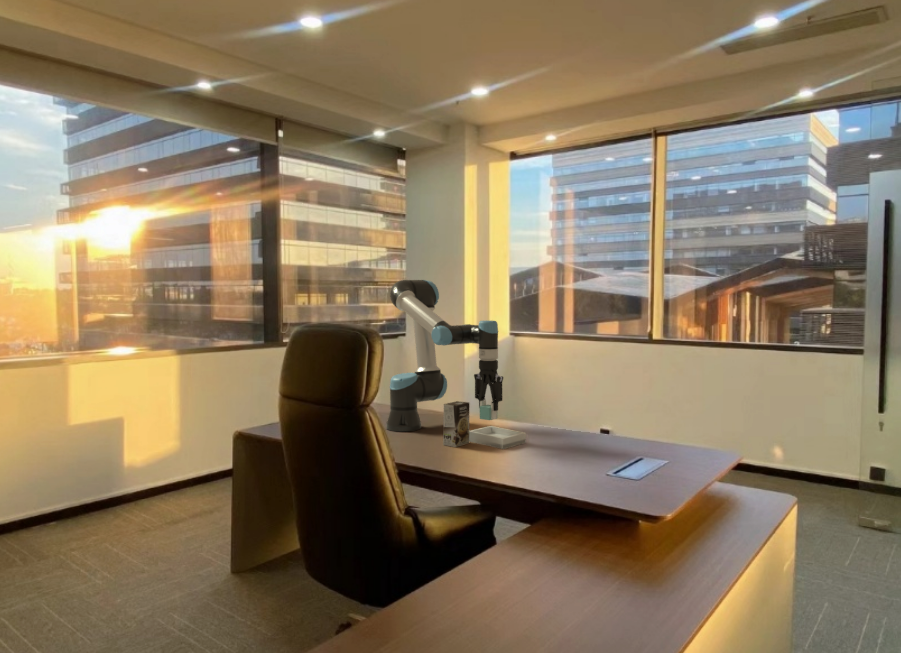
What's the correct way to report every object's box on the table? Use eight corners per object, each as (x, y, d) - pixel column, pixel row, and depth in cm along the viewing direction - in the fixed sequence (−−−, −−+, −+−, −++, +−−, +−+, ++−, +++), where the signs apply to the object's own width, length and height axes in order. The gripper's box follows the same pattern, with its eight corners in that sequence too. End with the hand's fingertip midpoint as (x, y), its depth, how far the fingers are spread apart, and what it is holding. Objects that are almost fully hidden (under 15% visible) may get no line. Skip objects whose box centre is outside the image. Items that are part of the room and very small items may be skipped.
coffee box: (456, 447, 238) (456, 405, 237) (442, 445, 242) (442, 403, 241) (470, 443, 245) (470, 402, 244) (456, 440, 249) (456, 400, 248)
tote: (467, 441, 248) (467, 431, 248) (490, 435, 258) (491, 425, 258) (503, 449, 235) (503, 438, 235) (525, 442, 245) (525, 432, 245)
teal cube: (479, 418, 249) (479, 406, 249) (487, 416, 253) (487, 404, 252) (489, 420, 246) (489, 407, 245) (497, 418, 249) (497, 406, 249)
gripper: (465, 358, 252) (465, 416, 253) (499, 361, 239) (499, 422, 240) (477, 357, 257) (477, 413, 258) (512, 360, 244) (512, 419, 245)
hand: (488, 417), depth 249 cm, fingers closed on teal cube, 5 cm apart
